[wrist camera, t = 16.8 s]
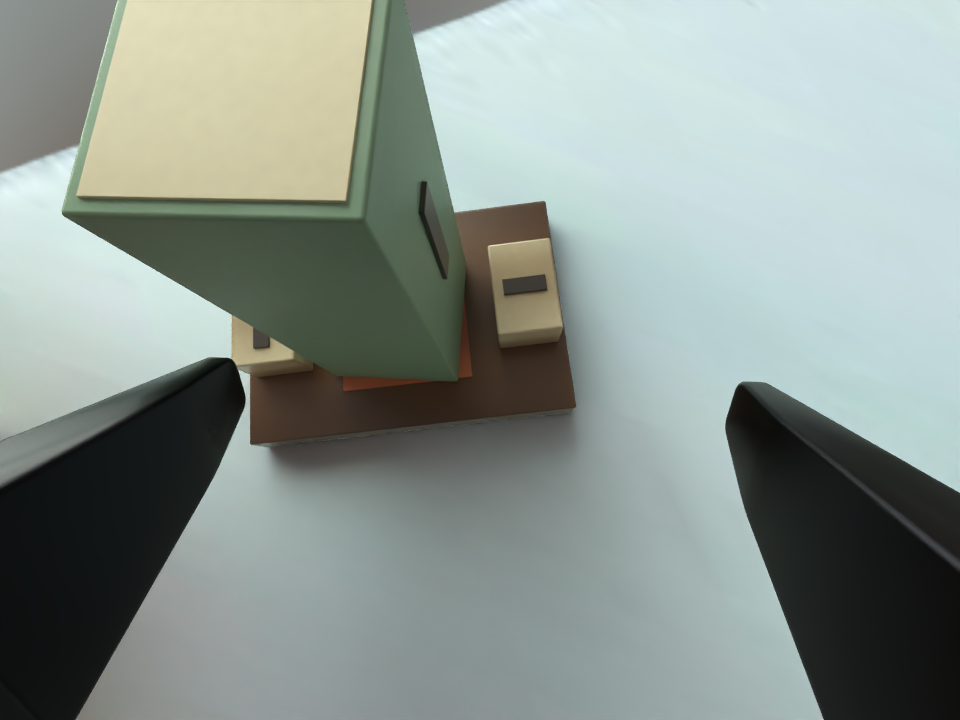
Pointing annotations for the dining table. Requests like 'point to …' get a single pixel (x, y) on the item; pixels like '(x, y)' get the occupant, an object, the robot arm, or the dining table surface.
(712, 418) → the dining table surface
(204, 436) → the robot arm
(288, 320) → the green tall block
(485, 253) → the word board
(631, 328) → the dining table surface
